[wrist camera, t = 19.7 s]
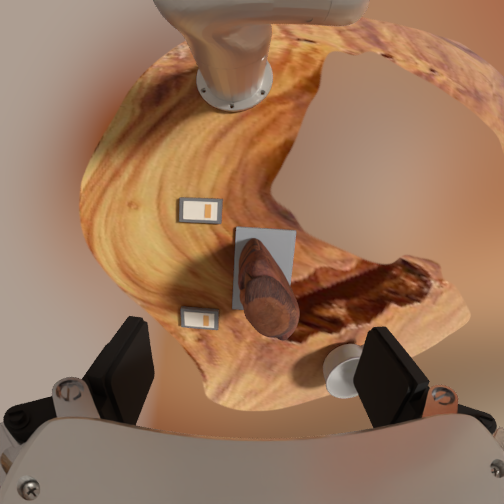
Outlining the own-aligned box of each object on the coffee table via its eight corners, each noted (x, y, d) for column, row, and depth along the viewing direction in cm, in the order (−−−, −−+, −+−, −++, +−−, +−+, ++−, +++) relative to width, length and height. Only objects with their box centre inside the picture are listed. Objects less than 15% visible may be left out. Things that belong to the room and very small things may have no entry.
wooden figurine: (227, 250, 46) (216, 295, 29) (259, 230, 46) (267, 265, 28) (263, 304, 49) (272, 367, 32) (294, 286, 48) (318, 343, 31)
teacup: (332, 382, 56) (341, 406, 48) (308, 356, 54) (316, 381, 46) (383, 348, 54) (397, 369, 46) (364, 318, 51) (379, 338, 44)
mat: (236, 226, 46) (236, 227, 45) (295, 230, 46) (296, 231, 46) (232, 307, 50) (232, 309, 49) (286, 309, 50) (286, 311, 50)
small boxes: (181, 197, 44) (179, 197, 43) (222, 198, 45) (222, 199, 43) (182, 324, 51) (181, 327, 49) (218, 327, 51) (217, 330, 50)
